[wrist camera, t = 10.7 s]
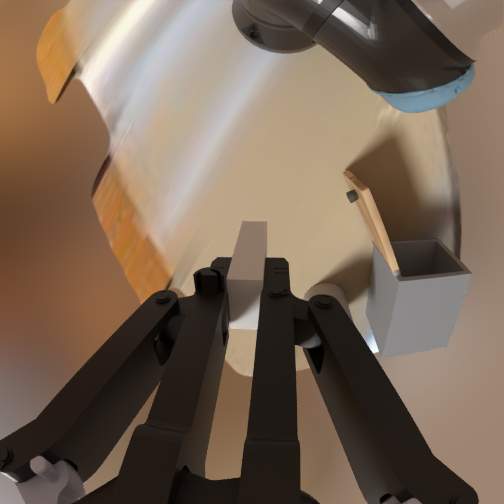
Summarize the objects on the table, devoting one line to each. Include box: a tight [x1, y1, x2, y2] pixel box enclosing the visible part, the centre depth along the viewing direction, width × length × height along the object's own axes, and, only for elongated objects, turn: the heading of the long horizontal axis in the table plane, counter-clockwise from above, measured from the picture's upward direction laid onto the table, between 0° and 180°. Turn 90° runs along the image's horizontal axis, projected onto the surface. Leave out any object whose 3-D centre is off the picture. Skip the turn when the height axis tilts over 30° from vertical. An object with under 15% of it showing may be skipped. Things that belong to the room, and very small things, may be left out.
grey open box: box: [366, 239, 472, 358], centre depth 46 cm, size 16×14×13 cm
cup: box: [303, 283, 353, 322], centre depth 51 cm, size 8×8×10 cm
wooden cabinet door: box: [343, 171, 401, 277], centre depth 41 cm, size 2×14×11 cm, turn 31°
